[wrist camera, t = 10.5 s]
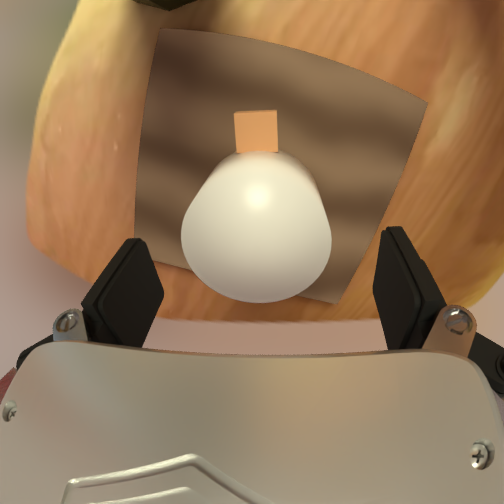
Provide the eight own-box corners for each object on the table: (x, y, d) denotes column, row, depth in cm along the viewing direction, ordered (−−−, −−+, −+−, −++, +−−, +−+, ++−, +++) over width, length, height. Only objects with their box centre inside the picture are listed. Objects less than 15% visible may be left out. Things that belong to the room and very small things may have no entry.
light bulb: (320, 110, 14) (338, 122, 10) (316, 251, 19) (324, 302, 15) (194, 115, 15) (161, 130, 11) (211, 251, 20) (194, 301, 16)
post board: (169, 31, 17) (135, 19, 12) (417, 100, 18) (455, 110, 13) (142, 243, 28) (116, 281, 23) (334, 290, 29) (342, 335, 24)
